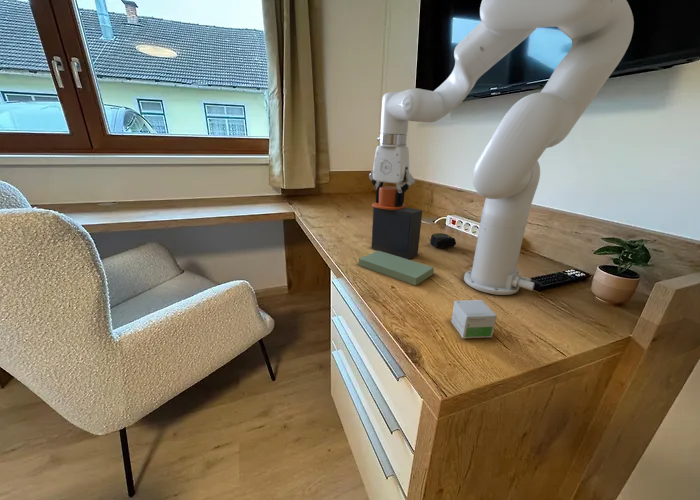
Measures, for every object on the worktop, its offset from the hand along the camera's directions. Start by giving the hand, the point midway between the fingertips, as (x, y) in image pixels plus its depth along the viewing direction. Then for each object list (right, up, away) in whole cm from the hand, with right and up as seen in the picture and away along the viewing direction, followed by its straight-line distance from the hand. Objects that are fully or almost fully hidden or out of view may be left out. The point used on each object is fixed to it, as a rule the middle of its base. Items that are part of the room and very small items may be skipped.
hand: (389, 203), depth 93 cm
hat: (0, -1, 0) cm, 1 cm away
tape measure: (+19, -13, +8) cm, 24 cm away
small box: (+11, -29, -35) cm, 47 cm away
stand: (0, -19, -10) cm, 22 cm away
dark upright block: (+2, -15, +3) cm, 15 cm away
